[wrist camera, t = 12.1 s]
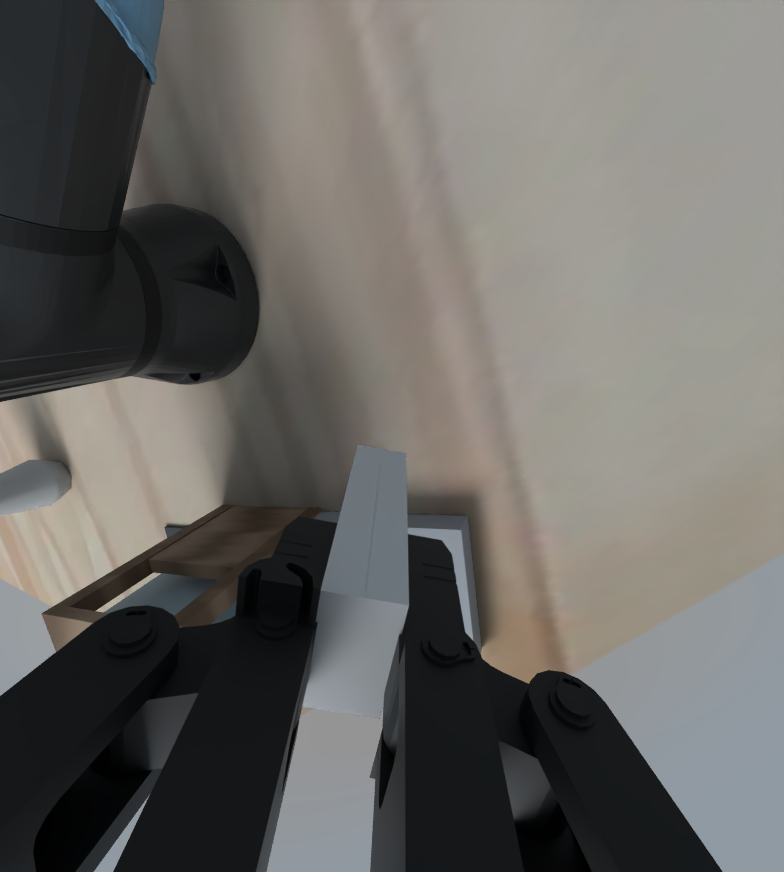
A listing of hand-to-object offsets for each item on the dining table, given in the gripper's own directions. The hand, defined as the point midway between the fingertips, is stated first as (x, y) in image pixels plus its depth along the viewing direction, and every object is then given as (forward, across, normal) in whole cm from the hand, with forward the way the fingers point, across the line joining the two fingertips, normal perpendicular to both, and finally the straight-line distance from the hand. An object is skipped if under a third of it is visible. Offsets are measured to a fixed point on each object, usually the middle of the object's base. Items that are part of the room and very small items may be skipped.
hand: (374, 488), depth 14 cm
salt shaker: (+37, -37, -25) cm, 59 cm away
